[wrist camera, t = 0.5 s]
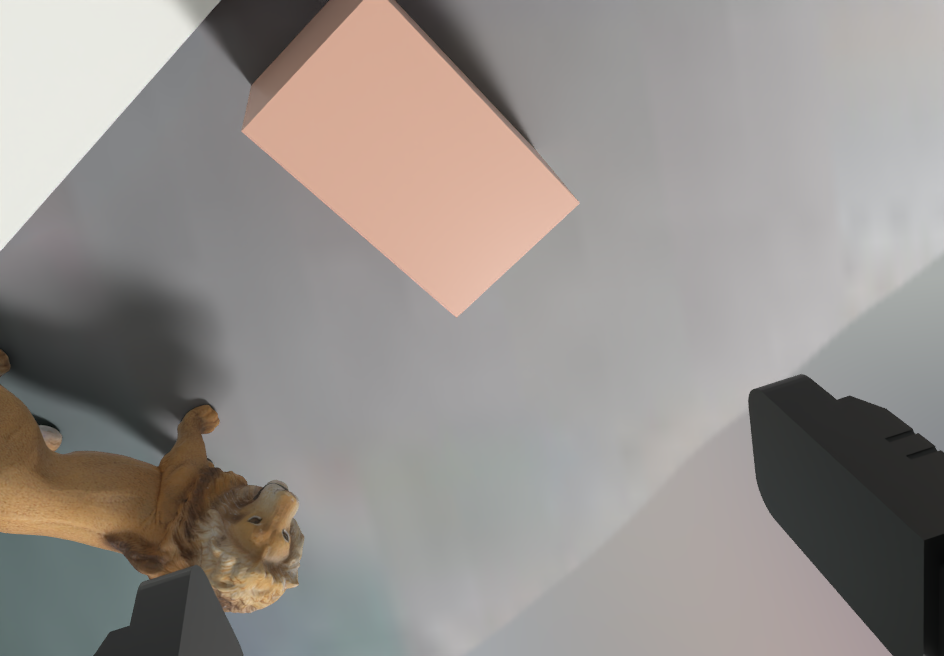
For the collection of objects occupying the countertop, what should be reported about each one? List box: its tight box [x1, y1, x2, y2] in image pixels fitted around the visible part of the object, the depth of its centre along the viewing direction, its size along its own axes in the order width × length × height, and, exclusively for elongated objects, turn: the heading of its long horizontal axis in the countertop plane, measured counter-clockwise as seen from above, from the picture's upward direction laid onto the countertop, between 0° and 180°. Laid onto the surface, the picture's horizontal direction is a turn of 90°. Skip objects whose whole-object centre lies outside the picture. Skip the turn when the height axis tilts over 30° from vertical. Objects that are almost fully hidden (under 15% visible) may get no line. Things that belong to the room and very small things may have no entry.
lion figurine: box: [0, 349, 304, 613], centre depth 31 cm, size 15×5×9 cm, turn 72°
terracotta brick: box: [242, 0, 579, 318], centre depth 28 cm, size 6×9×6 cm, turn 43°
